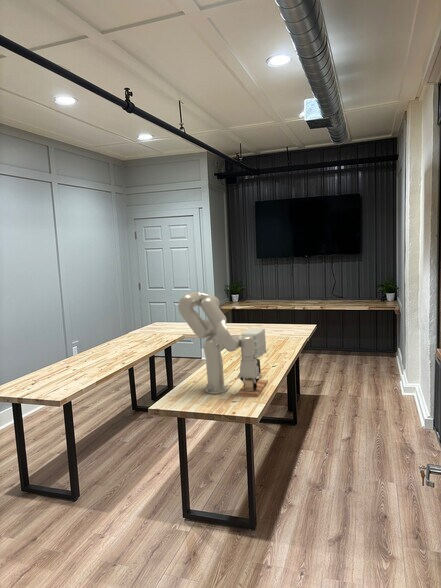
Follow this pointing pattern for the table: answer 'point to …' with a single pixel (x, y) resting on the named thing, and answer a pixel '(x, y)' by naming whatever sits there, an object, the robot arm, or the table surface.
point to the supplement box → (257, 340)
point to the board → (255, 393)
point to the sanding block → (249, 385)
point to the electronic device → (258, 365)
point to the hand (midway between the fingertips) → (250, 388)
